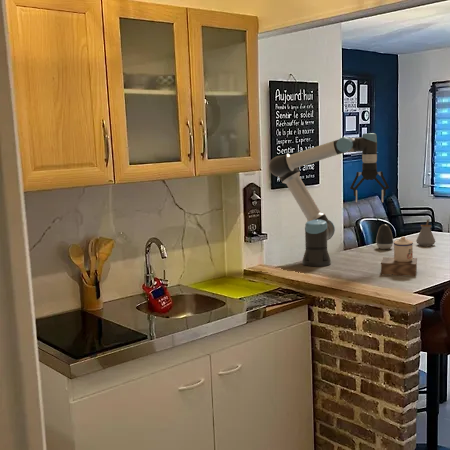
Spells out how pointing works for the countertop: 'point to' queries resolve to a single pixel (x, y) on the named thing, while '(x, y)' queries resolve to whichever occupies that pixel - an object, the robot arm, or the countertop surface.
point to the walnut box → (398, 267)
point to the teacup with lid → (403, 250)
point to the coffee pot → (425, 236)
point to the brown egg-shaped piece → (384, 237)
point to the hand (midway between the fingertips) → (369, 202)
